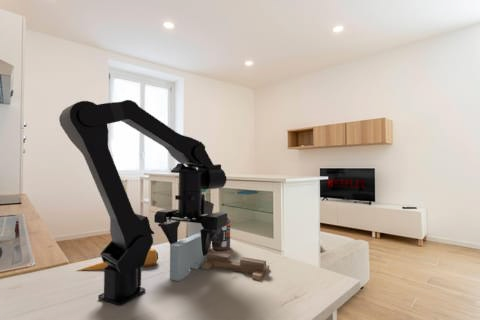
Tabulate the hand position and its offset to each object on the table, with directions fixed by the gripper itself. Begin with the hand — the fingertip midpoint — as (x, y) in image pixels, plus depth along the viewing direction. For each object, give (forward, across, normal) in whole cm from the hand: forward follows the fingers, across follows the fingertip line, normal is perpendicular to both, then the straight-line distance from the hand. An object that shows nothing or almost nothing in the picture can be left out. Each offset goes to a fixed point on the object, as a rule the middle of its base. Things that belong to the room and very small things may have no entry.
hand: (189, 252), depth 65 cm
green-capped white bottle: (+5, +7, -15) cm, 17 cm away
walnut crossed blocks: (+4, -10, -6) cm, 12 cm away
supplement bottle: (+5, +2, -19) cm, 20 cm away
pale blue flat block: (+4, 0, 0) cm, 4 cm away
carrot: (+5, +18, +6) cm, 20 cm away
